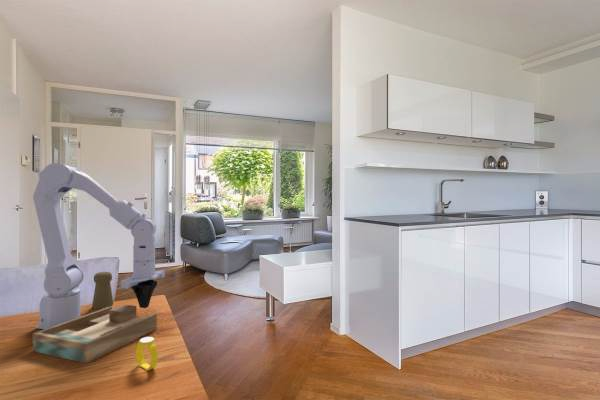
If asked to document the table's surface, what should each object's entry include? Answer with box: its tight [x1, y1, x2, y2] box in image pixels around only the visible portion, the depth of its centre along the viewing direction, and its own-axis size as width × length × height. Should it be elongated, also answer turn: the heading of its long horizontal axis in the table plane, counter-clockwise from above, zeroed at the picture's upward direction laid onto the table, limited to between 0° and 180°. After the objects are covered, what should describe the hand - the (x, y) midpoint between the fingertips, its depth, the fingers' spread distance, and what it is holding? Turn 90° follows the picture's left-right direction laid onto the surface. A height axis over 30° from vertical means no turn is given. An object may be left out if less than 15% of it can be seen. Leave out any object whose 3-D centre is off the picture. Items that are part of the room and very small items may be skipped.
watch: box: [135, 336, 159, 372], centre depth 68 cm, size 6×3×6 cm, turn 55°
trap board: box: [31, 306, 158, 364], centre depth 82 cm, size 17×20×4 cm
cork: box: [91, 271, 114, 310], centre depth 107 cm, size 6×6×11 cm
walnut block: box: [109, 304, 137, 323], centre depth 89 cm, size 4×5×3 cm
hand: (144, 307), depth 96 cm, fingers closed
